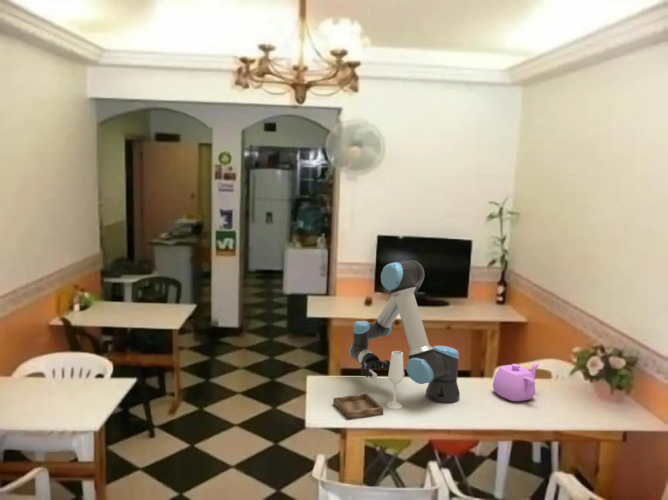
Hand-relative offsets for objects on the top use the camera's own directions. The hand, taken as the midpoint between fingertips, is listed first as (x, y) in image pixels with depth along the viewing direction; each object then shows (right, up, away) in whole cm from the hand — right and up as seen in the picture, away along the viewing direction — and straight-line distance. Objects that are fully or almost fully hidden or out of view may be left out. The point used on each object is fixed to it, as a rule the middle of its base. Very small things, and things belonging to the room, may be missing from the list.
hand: (390, 376), depth 268 cm
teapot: (+59, -12, +15) cm, 62 cm away
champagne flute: (+2, -13, -2) cm, 13 cm away
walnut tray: (-14, -13, -7) cm, 21 cm away
